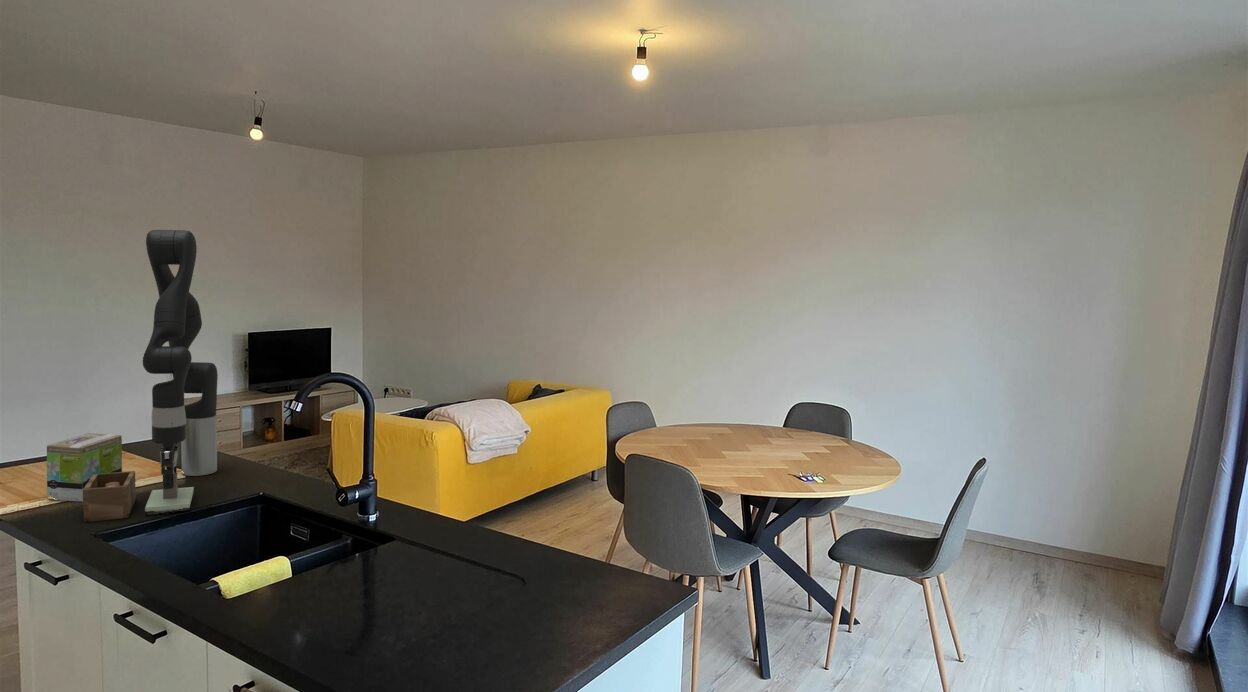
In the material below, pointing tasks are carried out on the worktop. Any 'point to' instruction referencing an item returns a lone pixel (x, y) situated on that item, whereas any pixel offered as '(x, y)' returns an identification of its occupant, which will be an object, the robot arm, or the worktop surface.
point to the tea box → (80, 463)
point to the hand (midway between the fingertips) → (170, 483)
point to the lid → (170, 498)
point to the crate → (109, 496)
